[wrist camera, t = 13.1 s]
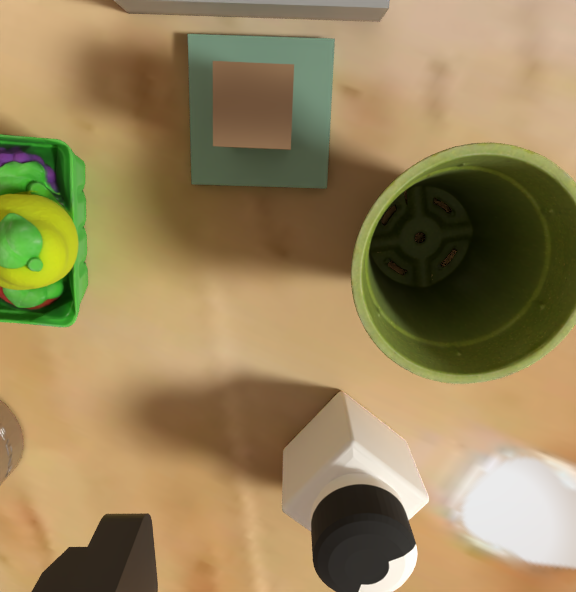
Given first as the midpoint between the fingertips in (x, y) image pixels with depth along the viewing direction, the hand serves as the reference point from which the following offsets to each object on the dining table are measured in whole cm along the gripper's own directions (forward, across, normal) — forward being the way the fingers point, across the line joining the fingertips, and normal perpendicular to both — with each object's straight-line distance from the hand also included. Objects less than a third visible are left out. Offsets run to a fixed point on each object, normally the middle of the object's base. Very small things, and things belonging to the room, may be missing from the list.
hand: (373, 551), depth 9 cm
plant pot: (+27, -8, -1) cm, 28 cm away
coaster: (+27, +3, -9) cm, 29 cm away
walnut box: (+26, +3, -9) cm, 28 cm away
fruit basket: (+28, +17, -2) cm, 33 cm away
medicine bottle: (+27, -3, +16) cm, 31 cm away
